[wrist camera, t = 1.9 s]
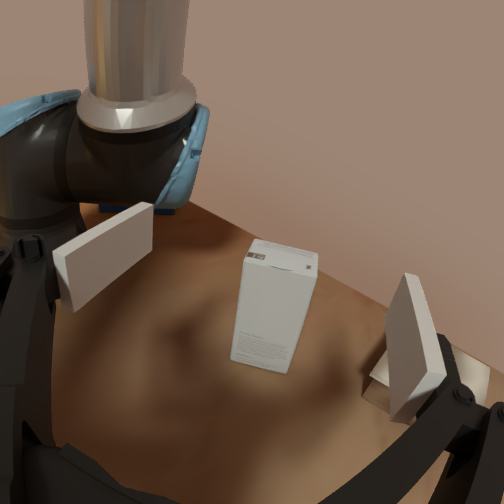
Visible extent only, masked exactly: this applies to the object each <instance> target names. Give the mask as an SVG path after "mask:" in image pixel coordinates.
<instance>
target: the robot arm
mask: <svg viewBox="0 0 504 504" xmlns="http://www.w3.org/2000/svg"><path fill="white" fill-rule="evenodd" d="M189 1H190V0H84V28H85V44H86V58H87V67H88V68H87V69H88V78H89V86H88V87H87V89H85V91H84V92H83V93H82V94H81V91H79V90H77V89H74V90H66V91H59V92H54V93H49V94H45V95H40V96H35V97H31V98H27V99H23V100H20V101H16V102H13V103H11V104H7V105H5V106H2V107H0V504H180V503H177V502H175V501H172V500H170V499H168V498H166V497H162V496H158V495H153V494H149V493H145V492H140V491H136V490H133V489H129V488H126V487H123V486H122V485H120V484H119V483H118V482H117V481H116V480H115V479H114V478H112V477H111V476H110V475H109V474H108V473H107V472H106V471H105V470H104V469H103V468H102V467H101V466H100V465H99V464H98V463H97V462H96V461H95V460H93V459H91V458H90V457H88V456H87V455H85V454H83V453H82V452H80V451H79V450H77V449H76V448H74V447H73V446H71V445H70V444H68V443H66V444H65V446H64V447H63V448H59V447H56V445H55V442H54V439H53V435H52V423H51V366H52V347H53V334H54V323H55V313H56V303H55V299H57V298H60V297H61V302H62V307H64V308H65V309H67V310H69V311H71V312H73V313H75V312H77V311H78V310H79V309H80V308H81V307H82V306H84V305H85V304H86V303H87V302H88V301H90V300H91V299H92V298H93V297H94V296H96V295H97V294H98V293H99V292H100V291H102V290H103V289H104V288H105V287H107V286H108V285H109V284H110V283H111V282H113V281H114V280H115V279H116V278H118V277H119V276H120V275H121V274H123V273H124V272H125V271H126V270H128V269H129V268H130V267H131V266H133V265H134V264H135V263H137V262H138V261H139V260H140V259H142V258H143V257H144V256H145V255H147V254H148V253H149V252H151V251H152V236H153V210H154V209H156V208H158V209H177V208H180V207H182V206H184V205H185V204H186V203H187V202H188V200H189V198H190V196H191V193H192V189H193V185H194V182H195V178H196V174H197V170H198V165H199V160H200V154H201V152H202V147H203V144H204V140H205V135H206V131H207V126H208V120H209V109H208V108H207V107H206V106H203V105H201V104H199V103H198V104H196V89H195V87H194V86H193V84H192V83H191V82H190V81H189V80H188V79H187V78H186V77H184V76H183V75H182V66H183V56H184V45H185V35H186V26H187V17H188V9H189ZM79 203H92V204H103V205H114V206H124V207H131V208H129V209H127V210H125V211H123V212H121V213H119V214H117V215H115V216H113V217H112V218H110V219H108V220H106V221H104V222H102V223H101V224H99V225H97V226H95V227H93V228H92V229H90V230H88V231H87V228H86V226H85V223H84V221H83V218H82V216H81V213H80V205H79ZM384 320H385V331H386V342H387V355H388V371H389V393H390V421H391V422H397V423H404V424H408V423H409V422H410V421H411V420H412V419H413V418H414V416H415V415H416V421H415V422H414V423H413V424H412V425H411V426H410V427H409V428H408V429H407V430H406V431H405V432H404V433H403V434H402V435H401V436H400V437H399V438H398V439H397V440H396V441H395V442H394V443H393V444H392V445H391V446H390V447H389V448H387V449H386V450H385V451H384V452H383V453H382V454H381V455H380V456H378V457H377V458H376V459H375V460H374V461H373V462H372V463H370V464H369V465H368V466H367V467H366V468H364V469H363V470H362V471H361V472H359V473H358V474H357V475H356V476H354V477H353V478H352V479H351V480H349V481H348V482H347V483H346V484H344V485H343V486H342V487H340V488H339V489H338V490H336V491H335V492H333V493H332V494H331V495H329V496H328V497H326V498H325V499H324V500H322V501H321V502H319V503H318V504H397V503H398V502H399V501H400V500H401V499H402V498H403V497H404V496H405V495H406V494H407V493H408V492H409V490H410V489H411V488H412V487H413V486H414V485H415V484H416V483H417V482H418V481H419V479H420V478H421V477H422V476H423V475H424V474H425V473H426V471H427V470H428V469H429V468H430V467H431V465H432V464H433V463H434V462H435V461H436V459H437V458H438V457H439V456H440V454H441V453H442V452H443V450H445V451H447V452H450V455H449V458H448V460H447V463H446V465H445V468H444V470H443V472H442V475H441V477H440V479H439V481H438V484H437V486H436V488H435V490H434V492H433V494H432V497H431V499H430V501H429V503H428V504H500V503H501V500H502V496H503V492H504V402H496V403H495V404H493V406H492V407H491V408H490V409H488V408H486V407H483V406H481V405H479V404H477V403H476V400H475V396H474V394H473V392H472V390H471V389H470V388H469V387H468V386H466V385H464V384H463V383H461V380H460V376H459V372H458V368H457V365H456V361H455V358H454V354H453V351H452V347H451V344H450V343H449V341H448V340H447V338H446V337H445V336H444V335H442V334H438V333H436V331H435V328H434V324H433V321H432V317H431V314H430V311H429V308H428V305H427V302H426V299H425V296H424V292H423V289H422V286H421V284H420V281H419V278H418V276H415V275H412V274H409V273H404V274H403V276H402V279H401V281H400V284H399V286H398V288H397V291H396V293H395V295H394V297H393V300H392V302H391V304H390V307H389V308H388V311H387V313H386V315H385V317H384Z"/></svg>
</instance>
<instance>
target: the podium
mask: <svg viewBox="0 0 504 504" xmlns="http://www.w3.org/2000/svg"><path fill="white" fill-rule="evenodd" d="M451 347H452V346H451ZM452 351H453V354H454V358H455V361H456V365H457V368H458V372H459V376H460V380H461V383H463V384H464V385H466V386H468V387H469V388H470V389H471V390H472V392H473V394H474V396H475V400H476V403H477V404H479V405H481V406H483V407H484V406H485V400H486V394H487V388H488V381H489V374H490V368H489V367H487V366H486V365H484V364H482V363H480V362H479V361H477V360H475V359H473V358H472V357H470V356H468V355H466V354H465V353H463V352H461V351H459V350H458V349H456V348H454V347H452ZM369 376H371V377H373V380H372V381H371V383H370V385H369V386H368V388H367V389H366V391H365V392H364V394H363V395H362V398H364V399H366V400H367V401H369V402H370V403H372V404H374V405H375V406H377V407H379V408H380V409H382V410H384V411H385V412H387V413H389V414H390V393H389V371H388V355H387V350H386V351H385V353H384V354H383V356H382V357H381V359H380V360H379V361H378V363H377V364H376V366H375V367H374V369H373V370H372V372H371V373H370V375H369ZM415 421H416V415H415V416H414V418H413V419H412V420H411V421H410V422H409V423H408V425H409V426H411V425H412V424H413V423H414V422H415Z"/></svg>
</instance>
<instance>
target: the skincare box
mask: <svg viewBox="0 0 504 504" xmlns="http://www.w3.org/2000/svg"><path fill="white" fill-rule="evenodd" d="M318 256H319V255H318V253H314V252H310V251H305V250H301V249H297V248H293V247H288V246H284V245H280V244H276V243H272V242H267V241H263V240H259V239H254V240H253V242H252V245H251V247H250V249H249V251H248V252H247V254H246V256H245V258H244V260H243V269H242V277H241V284H240V291H239V298H238V305H237V312H236V319H235V326H234V334H233V341H232V348H231V355H230V359H231V360H232V361H236V362H240V363H244V364H247V365H251V366H255V367H259V368H263V369H267V370H271V371H275V372H280V373H284V374H287V372H288V369H289V366H290V363H291V360H292V357H293V354H294V351H295V348H296V345H297V342H298V339H299V336H300V333H301V330H302V327H303V324H304V321H305V317H306V314H307V311H308V308H309V304H310V300H311V297H312V293H313V289H314V286H315V284H316V281H317V269H318Z"/></svg>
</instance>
